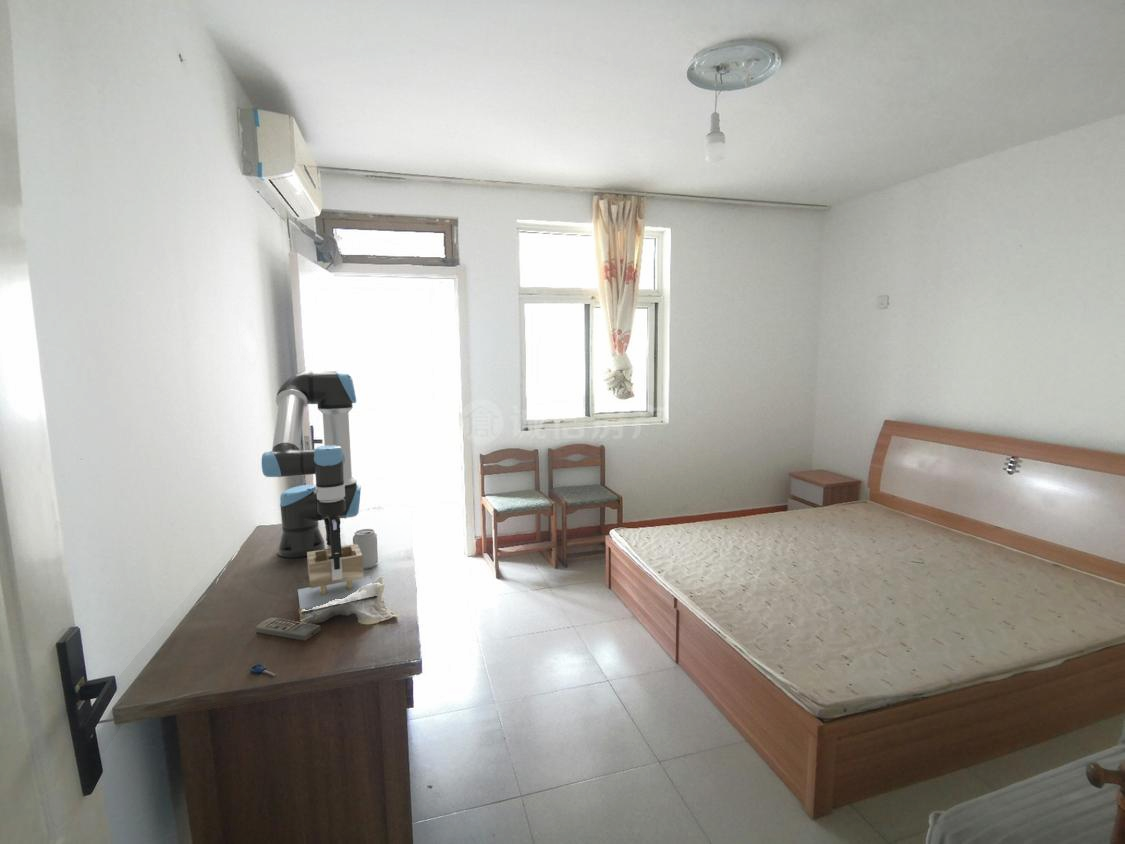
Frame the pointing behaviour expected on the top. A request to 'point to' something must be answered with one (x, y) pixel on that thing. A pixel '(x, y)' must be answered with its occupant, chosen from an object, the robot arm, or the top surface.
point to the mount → (329, 592)
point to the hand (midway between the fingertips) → (335, 572)
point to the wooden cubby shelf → (323, 572)
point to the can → (367, 546)
